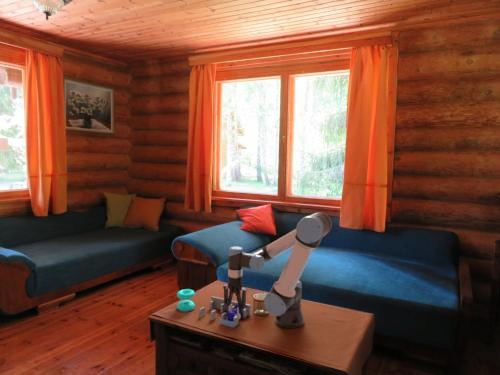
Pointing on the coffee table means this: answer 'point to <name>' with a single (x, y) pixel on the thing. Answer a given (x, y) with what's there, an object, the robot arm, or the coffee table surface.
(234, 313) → the blue curved block
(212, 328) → the coffee table surface
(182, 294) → the donuts
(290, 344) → the coffee table surface
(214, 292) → the coffee table surface
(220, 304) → the grey peg rack
